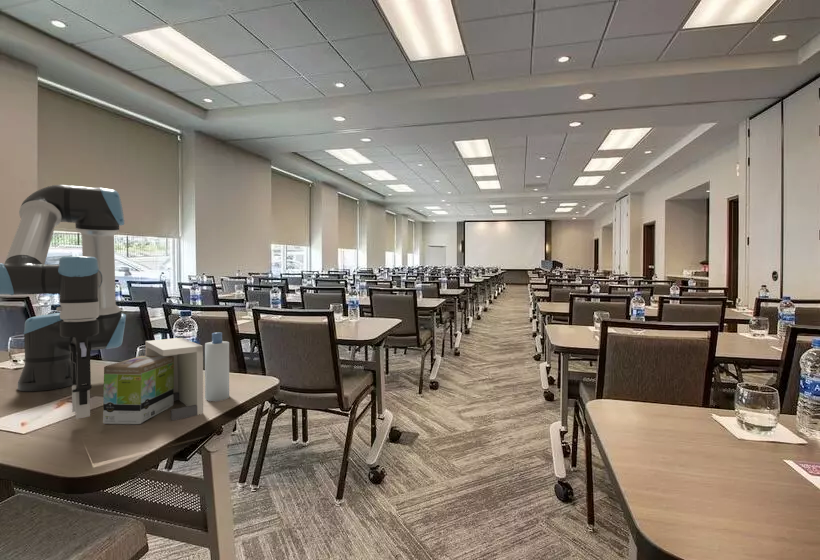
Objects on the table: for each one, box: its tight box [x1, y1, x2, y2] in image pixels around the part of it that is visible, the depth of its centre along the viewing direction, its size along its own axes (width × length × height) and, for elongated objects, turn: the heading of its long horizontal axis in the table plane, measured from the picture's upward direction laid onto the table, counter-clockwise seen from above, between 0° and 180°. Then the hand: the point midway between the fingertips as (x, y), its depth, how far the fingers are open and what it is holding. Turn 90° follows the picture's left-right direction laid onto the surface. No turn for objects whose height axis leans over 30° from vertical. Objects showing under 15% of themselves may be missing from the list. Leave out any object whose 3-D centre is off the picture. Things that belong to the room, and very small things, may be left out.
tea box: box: [102, 355, 175, 425], centre depth 114 cm, size 15×10×15 cm
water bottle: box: [204, 331, 230, 402], centre depth 128 cm, size 7×7×20 cm
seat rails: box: [170, 392, 198, 421], centre depth 119 cm, size 18×6×2 cm, turn 43°
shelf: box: [145, 337, 204, 416], centre depth 119 cm, size 19×10×18 cm, turn 43°
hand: (81, 413), depth 104 cm, fingers open, 6 cm apart
